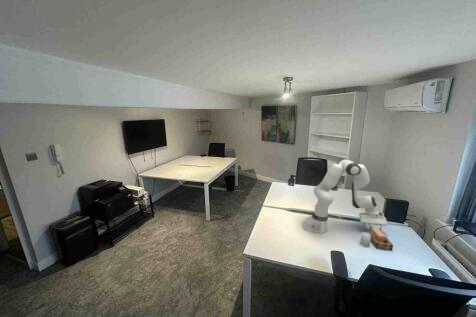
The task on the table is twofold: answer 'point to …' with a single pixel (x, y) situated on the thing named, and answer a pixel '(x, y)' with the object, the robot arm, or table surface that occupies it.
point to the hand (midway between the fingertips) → (374, 229)
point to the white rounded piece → (365, 239)
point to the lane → (378, 245)
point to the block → (378, 234)
